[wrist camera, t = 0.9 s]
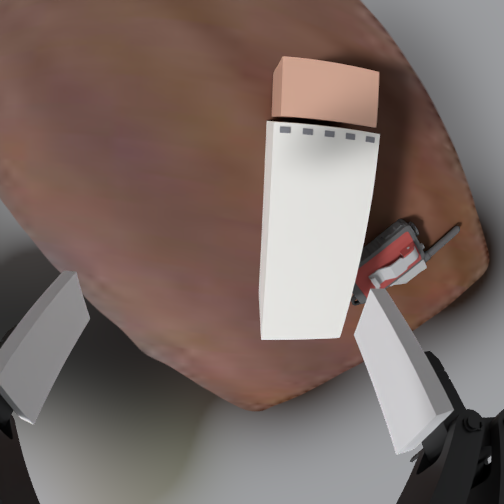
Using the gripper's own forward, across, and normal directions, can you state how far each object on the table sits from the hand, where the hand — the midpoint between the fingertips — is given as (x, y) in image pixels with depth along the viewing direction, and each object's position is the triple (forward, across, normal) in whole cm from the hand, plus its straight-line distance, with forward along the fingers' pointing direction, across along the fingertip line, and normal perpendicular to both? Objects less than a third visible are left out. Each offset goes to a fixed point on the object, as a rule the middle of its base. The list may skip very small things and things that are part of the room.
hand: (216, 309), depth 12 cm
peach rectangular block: (+22, +7, +10) cm, 26 cm away
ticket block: (+22, +8, -4) cm, 24 cm away
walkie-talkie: (+23, +23, -7) cm, 33 cm away
